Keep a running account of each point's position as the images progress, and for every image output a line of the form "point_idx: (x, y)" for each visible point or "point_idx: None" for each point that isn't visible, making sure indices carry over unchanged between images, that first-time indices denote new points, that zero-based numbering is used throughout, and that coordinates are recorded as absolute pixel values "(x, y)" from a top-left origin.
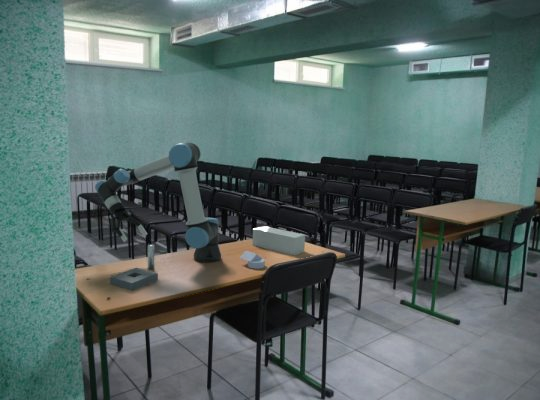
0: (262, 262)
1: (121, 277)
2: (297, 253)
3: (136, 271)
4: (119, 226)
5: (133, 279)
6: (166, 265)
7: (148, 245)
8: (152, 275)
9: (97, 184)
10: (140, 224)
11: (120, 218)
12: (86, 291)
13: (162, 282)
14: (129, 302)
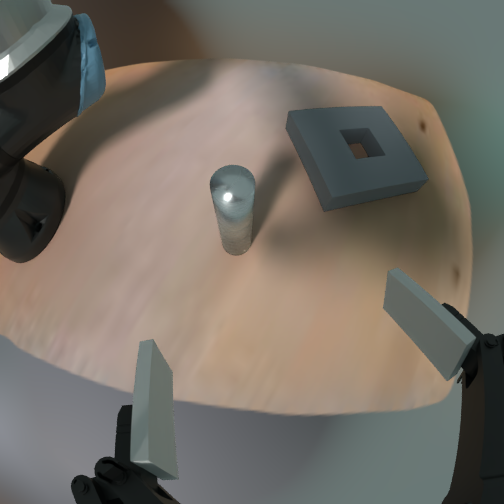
0: None
1: (400, 151)
2: None
3: (346, 161)
4: (486, 371)
5: (373, 119)
6: (164, 234)
7: (245, 192)
8: (312, 109)
9: None
10: (142, 459)
11: (494, 489)
12: (461, 189)
13: (282, 111)
14: (388, 90)
